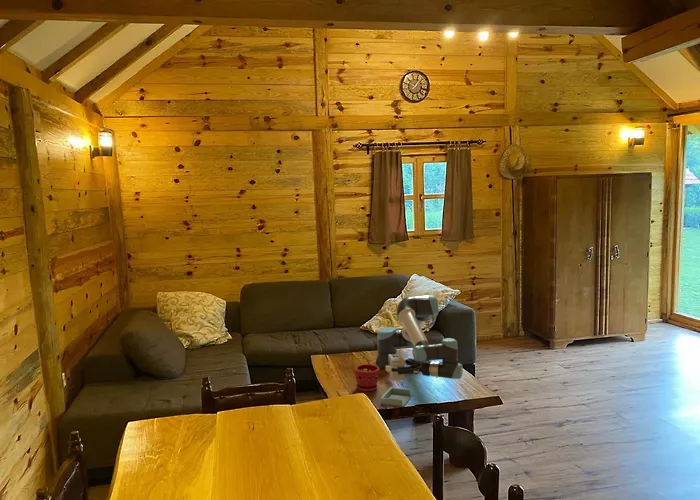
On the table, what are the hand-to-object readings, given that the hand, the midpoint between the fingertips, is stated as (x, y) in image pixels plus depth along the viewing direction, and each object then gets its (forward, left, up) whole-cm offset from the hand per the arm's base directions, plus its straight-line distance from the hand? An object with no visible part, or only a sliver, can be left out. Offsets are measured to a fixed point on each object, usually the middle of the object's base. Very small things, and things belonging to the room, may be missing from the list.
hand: (389, 364), depth 266 cm
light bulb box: (+4, 0, -6) cm, 7 cm away
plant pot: (-16, +10, -19) cm, 27 cm away
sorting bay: (+4, 0, -18) cm, 19 cm away
